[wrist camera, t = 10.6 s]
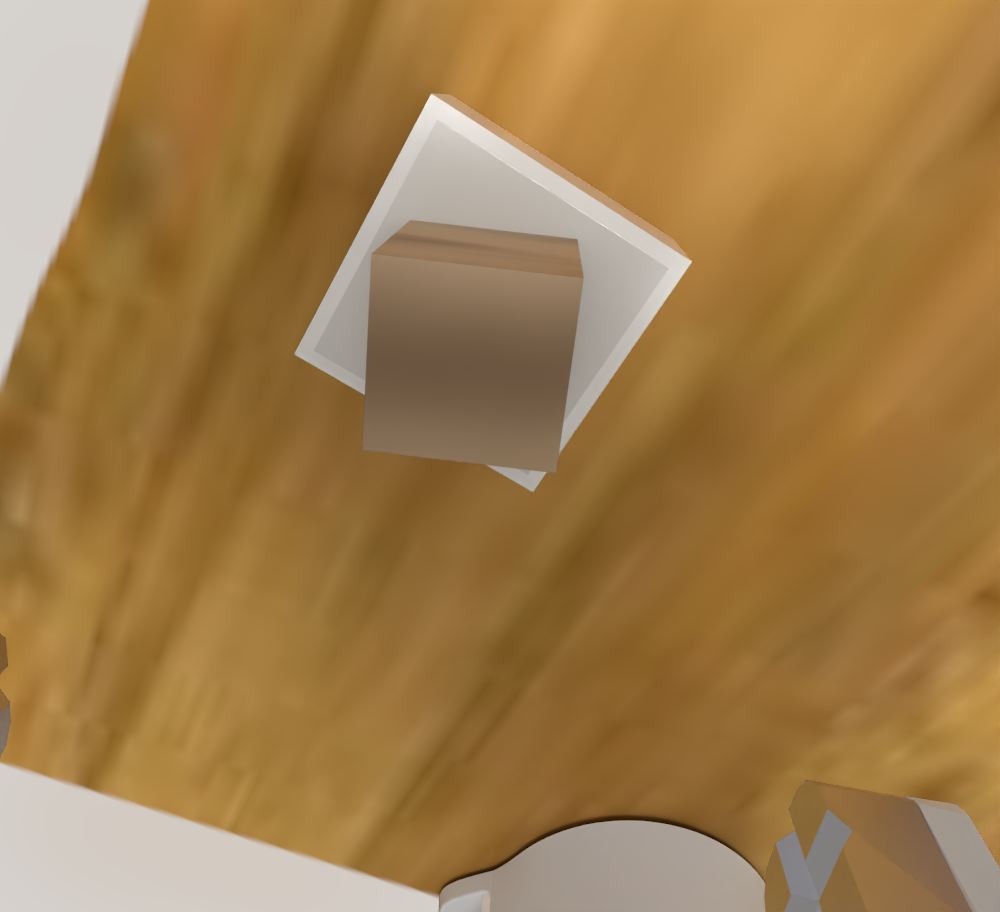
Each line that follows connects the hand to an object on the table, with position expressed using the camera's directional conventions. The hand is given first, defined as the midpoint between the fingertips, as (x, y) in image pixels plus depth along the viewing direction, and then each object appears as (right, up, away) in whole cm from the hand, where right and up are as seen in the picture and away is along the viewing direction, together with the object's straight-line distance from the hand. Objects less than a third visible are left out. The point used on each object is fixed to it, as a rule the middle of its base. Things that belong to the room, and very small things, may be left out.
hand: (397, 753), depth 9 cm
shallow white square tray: (+1, +9, +23) cm, 25 cm away
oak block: (+1, +7, +18) cm, 20 cm away
